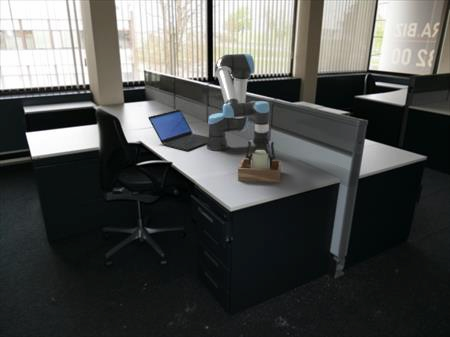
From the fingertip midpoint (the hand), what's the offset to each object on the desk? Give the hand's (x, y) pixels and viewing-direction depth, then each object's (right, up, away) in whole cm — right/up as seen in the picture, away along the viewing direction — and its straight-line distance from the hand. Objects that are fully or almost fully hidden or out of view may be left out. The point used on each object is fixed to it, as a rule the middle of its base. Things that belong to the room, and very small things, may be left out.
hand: (260, 170), depth 194 cm
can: (0, -1, 0) cm, 1 cm away
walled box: (0, -3, +1) cm, 3 cm away
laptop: (-50, +21, +65) cm, 84 cm away
